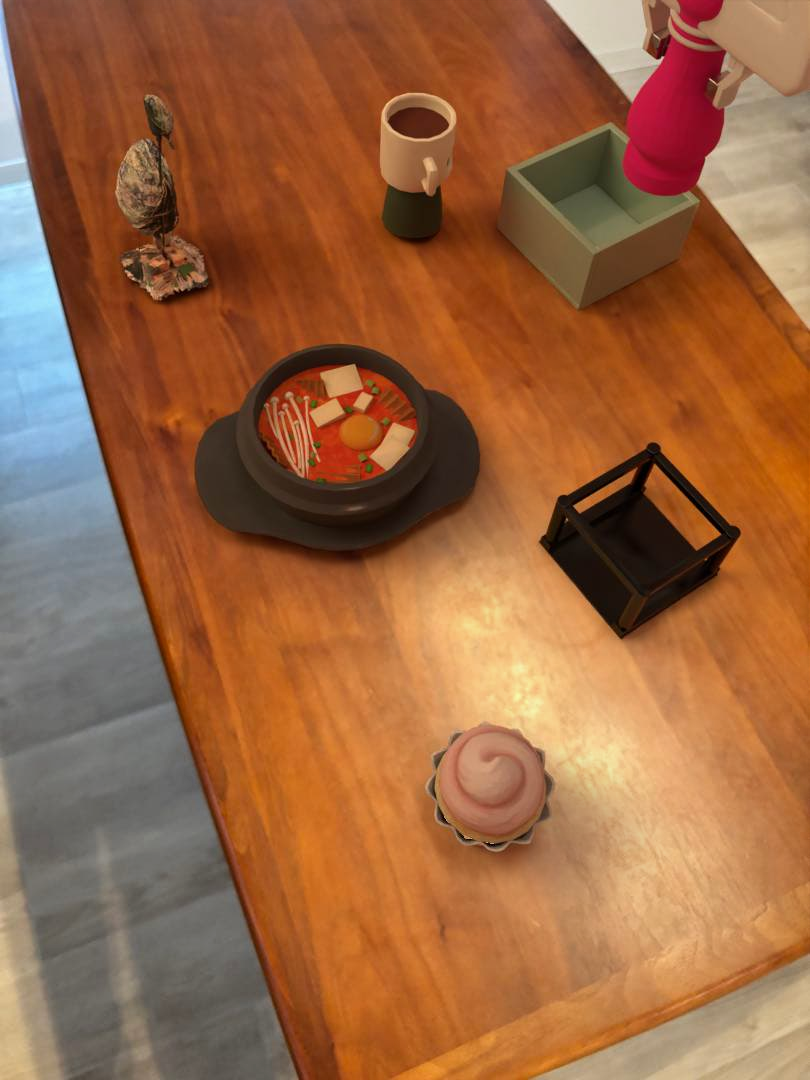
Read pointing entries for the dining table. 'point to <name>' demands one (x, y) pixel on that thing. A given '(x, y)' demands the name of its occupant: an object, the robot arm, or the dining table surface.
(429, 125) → the character mug
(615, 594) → the black open frame holder
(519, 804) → the cupcake
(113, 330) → the dining table surface
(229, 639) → the dining table surface
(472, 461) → the casserole
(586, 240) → the open square box
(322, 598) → the dining table surface
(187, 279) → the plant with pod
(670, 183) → the pepper mill
